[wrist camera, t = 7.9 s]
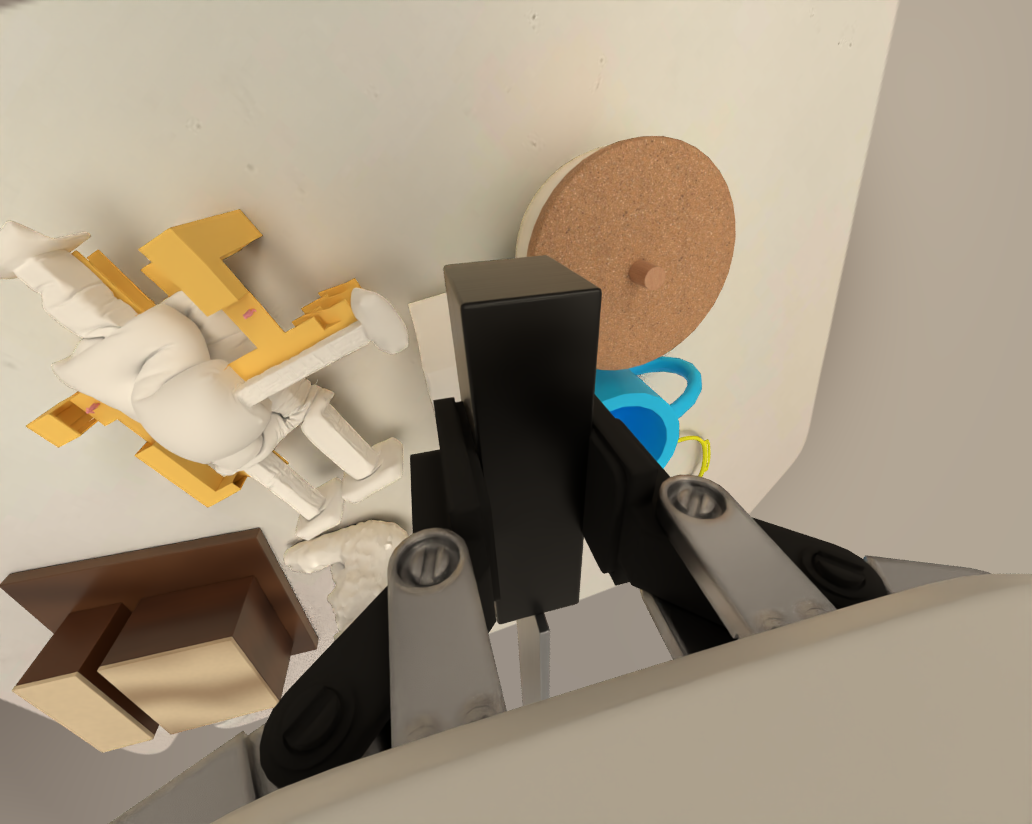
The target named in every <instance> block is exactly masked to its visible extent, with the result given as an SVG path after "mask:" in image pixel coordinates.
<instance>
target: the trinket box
mask: <svg viewBox="0 0 1032 824" xmlns="http://www.w3.org/2000/svg"><path fill="white" fill-rule="evenodd" d="M734 244H735V215H734V208H733V202H732V199H731V196H730V192H729V189H728V186H727V184H726V182H725V180H724V178H723V176H722V175H721V173H720V171H719V170H718V168H717V167H716V166H715V165H714V163H713V162H712V161H711V160H710V158H709V157H707V156H706V155H705V154H704V153H702V152H701V151H700V150H699V149H697V148H696V147H694V146H692V145H690V144H688V143H686V142H683V141H681V140H678V139H673V138H669V137H664V136H643V137H637V138H632V139H627V140H622V141H618V142H616V143H613V144H611V145H607V146H602V147H598V148H596V149H594V150H591V151H589V152H586V153H584V154H582V155H580V156H578V157H576V158H574V159H573V160H571V161H569V162H568V163H566V164H565V165H563V166H562V167H561V168H560V169H558V170H557V171H556V172H555V173H554V174H553V175H552V176H550V177H549V178H548V179H547V180H546V182H545V183H544V184H543V185H542V186H541V188H540V189H539V190H538V191H537V192H536V194H535V196H534V197H533V199H532V200H531V202H530V204H529V205H528V207H527V210H526V212H525V214H524V217H523V219H522V221H521V225H520V229H519V232H518V236H517V243H516V258H521V257H531V256H542V255H547V256H549V257H551V258H552V259H554V260H556V261H557V262H559V263H561V264H562V265H564V266H565V267H567V268H569V269H570V270H572V271H573V272H575V273H577V274H578V275H580V276H581V277H583V278H585V279H586V280H588V281H589V282H591V283H593V284H594V285H596V286H598V287H599V288H601V291H602V300H601V313H600V327H599V340H598V353H597V367H596V369H598V370H622V369H629V368H632V367H636V366H640V365H643V364H646V363H648V362H650V361H652V360H655V359H657V358H659V357H660V356H662V355H664V354H666V353H667V352H669V351H671V350H672V349H673V348H674V347H676V346H677V345H678V344H680V343H681V342H682V341H683V340H684V339H685V338H687V337H688V336H689V335H690V334H691V333H692V332H693V331H694V330H695V329H696V328H697V326H698V325H699V324H700V323H701V321H702V320H703V319H704V318H705V316H706V315H707V313H708V312H709V311H710V309H711V308H712V306H713V305H714V303H715V301H716V299H717V297H718V295H719V293H720V291H721V289H722V287H723V285H724V282H725V280H726V277H727V275H728V272H729V269H730V265H731V261H732V257H733V251H734Z"/></svg>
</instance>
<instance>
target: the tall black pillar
mask: <svg viewBox="0 0 1032 824" xmlns="http://www.w3.org/2000/svg"><path fill="white" fill-rule="evenodd" d="M443 271H444V278H445V286H446V293H447V300H448V308H449V315H450V323H451V330H452V337H453V345H454V352H455V359H456V367H457V374H458V382H459V389H460V396H461V401H463V403H464V407H465V411H466V415H467V418H468V422H469V426H470V430H471V433H472V437H473V441H474V445H475V448H476V452H477V455H478V458H479V461H480V465H481V469H482V472H483V476H484V480H485V484H486V487H487V491H488V495H489V500H490V505H491V511H492V519H493V528H494V538H495V548H496V557H497V567H498V577H499V586H500V596H501V600H499V601H495V602H494V605H495V613H496V618H497V622H498V624H504V623H507V622H511V621H515V620H517V633H518V646H519V660H520V673H521V687H522V702H523V706H526V705H529V704H532V703H535V702H538V701H542V700H545V699H548V698H549V677H550V675H549V674H550V670H549V669H550V668H549V667H550V663H549V662H550V630H549V626H548V623H547V620H546V617H545V614H544V613H545V612H548V611H552V610H556V609H560V608H563V607H567V606H570V605H575V604H577V603H578V602H579V592H580V579H581V566H582V553H583V539H584V536H583V534H582V530H583V517H584V503H585V490H586V476H587V462H588V449H589V436H591V433H592V420H593V406H594V393H595V380H596V367H597V353H598V340H599V327H600V313H601V300H602V291H601V288H599V287H598V286H596V285H594V284H593V283H591V282H589V281H588V280H586V279H585V278H583V277H581V276H580V275H578V274H577V273H575V272H573V271H572V270H570V269H569V268H567V267H565V266H564V265H562V264H561V263H559V262H557V261H556V260H554V259H552V258H551V257H549V256H547V255H542V256H531V257H521V258H511V259H500V260H490V261H480V262H469V263H459V264H449V265H445V266H444V268H443Z"/></svg>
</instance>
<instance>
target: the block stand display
mask: <svg viewBox="0 0 1032 824" xmlns="http://www.w3.org/2000/svg"><path fill="white" fill-rule="evenodd" d="M0 588H1V589H3V590H4V591H5V592H6V593H7V594H8V595H10V596H11V597H12V598H13V599H14V600H15V601H17V602H18V603H19V604H20V605H21V606H22V607H24V608H25V609H26V610H27V611H28V612H29V613H31V614H32V615H33V616H34V617H35V618H36V619H38V620H39V621H40V622H41V623H42V624H43V625H44V626H46V627H47V628H48V629H49V630H50V631H51V632H53V633H55V632H56V630H57V629H58V628H59V626H60V625H61V624H62V622H63V621H64V620H65V618H66V617H67V616H68V614H69V613H73V612H78V611H83V610H88V609H92V608H97V607H102V606H107V605H112V604H117V603H123V604H124V605H125V606H126V607H127V608H128V609H129V611H130V612H131V613H132V614H131V616H130V617H129V619H128V621H127V622H126V624H125V626H124V627H123V629H122V631H121V632H120V634H119V636H118V637H117V639H116V641H115V642H114V644H113V646H112V647H111V649H110V651H109V652H108V654H107V656H106V657H105V659H104V661H103V662H102V664H101V666H100V667H99V669H98V670H97V672H99V673H100V674H101V675H102V676H103V677H104V678H106V679H107V680H108V681H109V682H110V683H111V684H113V685H114V686H115V687H116V688H117V689H118V690H120V691H121V692H122V693H123V694H124V695H125V696H126V697H128V698H129V699H130V700H131V701H132V702H133V703H135V704H136V705H137V706H138V707H139V708H140V709H142V710H143V711H144V712H145V713H146V714H147V715H149V716H150V717H151V718H152V719H153V720H154V721H156V722H157V723H158V724H159V725H160V726H161V727H163V728H164V729H165V730H166V731H167V732H168V733H170V734H175V733H179V732H182V731H186V730H190V729H194V728H197V727H201V726H205V725H209V724H212V723H216V722H220V721H224V720H228V719H232V718H235V717H239V716H243V715H247V714H250V713H254V712H258V711H262V710H266V709H269V708H273V707H275V706H276V705H277V703H278V702H279V701H280V700H281V696H282V692H283V687H284V683H285V678H286V674H287V669H288V665H289V660H290V656H291V655H295V654H299V653H303V652H308V651H312V650H316V649H317V645H318V638H317V636H316V634H315V632H314V630H313V628H312V626H311V624H310V622H309V621H308V619H307V617H306V615H305V613H304V611H303V609H302V607H301V605H300V604H299V602H298V600H297V598H296V596H295V594H294V592H293V590H292V588H291V586H290V585H289V583H288V581H287V579H286V577H285V575H284V573H283V571H282V569H281V567H280V566H279V564H278V562H277V560H276V558H275V556H274V554H273V552H272V550H271V549H270V547H269V545H268V543H267V541H266V539H265V537H264V535H263V533H262V531H261V530H260V528H257V529H251V530H246V531H240V532H235V533H230V534H224V535H219V536H213V537H208V538H202V539H197V540H192V541H186V542H181V543H175V544H170V545H164V546H159V547H154V548H148V549H143V550H137V551H132V552H126V553H121V554H115V555H110V556H105V557H99V558H94V559H88V560H83V561H77V562H72V563H67V564H61V565H56V566H50V567H45V568H39V569H34V570H28V571H23V572H18V573H12V574H9V575H8V576H7V577H6V578H5V579H4V581H3V582H2V583H1V584H0Z"/></svg>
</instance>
